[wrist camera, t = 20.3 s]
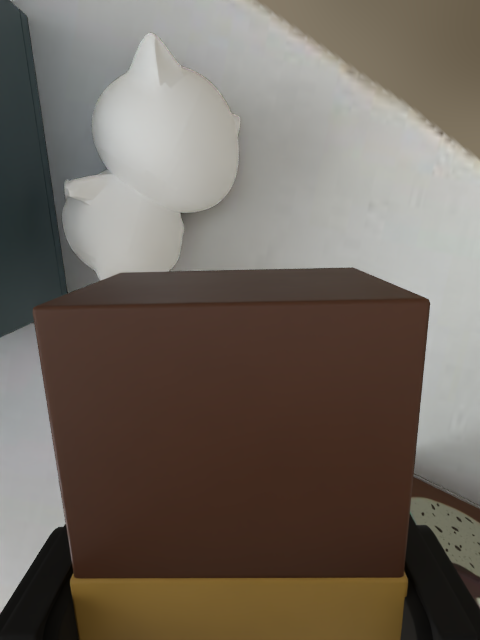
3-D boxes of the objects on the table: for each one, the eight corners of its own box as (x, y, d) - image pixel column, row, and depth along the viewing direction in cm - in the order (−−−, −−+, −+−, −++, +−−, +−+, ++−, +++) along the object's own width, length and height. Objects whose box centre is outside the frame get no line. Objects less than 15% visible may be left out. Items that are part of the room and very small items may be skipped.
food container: (328, 512, 31) (364, 645, 21) (369, 452, 30) (427, 564, 20) (458, 573, 32) (548, 725, 22) (504, 517, 31) (621, 654, 21)
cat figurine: (75, 308, 18) (205, 41, 14) (-22, 204, 22) (61, -16, 19) (192, 317, 25) (294, 143, 22) (102, 238, 30) (176, 85, 27)
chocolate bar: (158, 687, 11) (118, 898, 8) (117, 272, 8) (23, 307, 5) (336, 688, 11) (377, 902, 8) (357, 266, 8) (439, 299, 5)
